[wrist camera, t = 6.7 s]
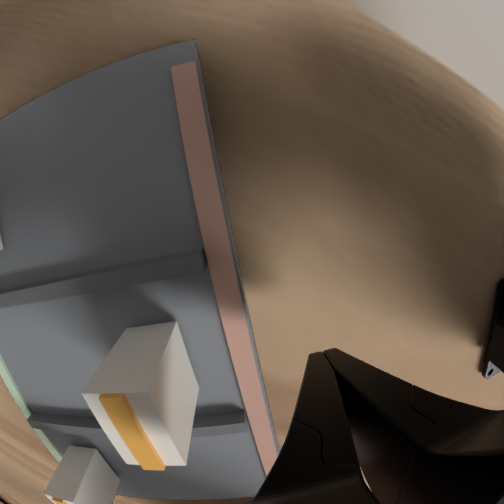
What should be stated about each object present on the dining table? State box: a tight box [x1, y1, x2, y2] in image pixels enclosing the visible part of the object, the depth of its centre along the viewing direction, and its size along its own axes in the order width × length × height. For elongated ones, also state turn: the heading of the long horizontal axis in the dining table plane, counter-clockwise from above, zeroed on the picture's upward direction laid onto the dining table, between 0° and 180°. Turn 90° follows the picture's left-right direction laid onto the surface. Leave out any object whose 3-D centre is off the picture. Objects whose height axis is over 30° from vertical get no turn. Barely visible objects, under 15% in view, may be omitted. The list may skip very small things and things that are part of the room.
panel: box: [0, 39, 280, 500], centre depth 11 cm, size 14×22×2 cm, turn 11°
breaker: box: [44, 445, 120, 504], centre depth 10 cm, size 2×3×4 cm, turn 10°
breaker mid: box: [82, 321, 199, 470], centre depth 8 cm, size 2×3×4 cm, turn 11°
